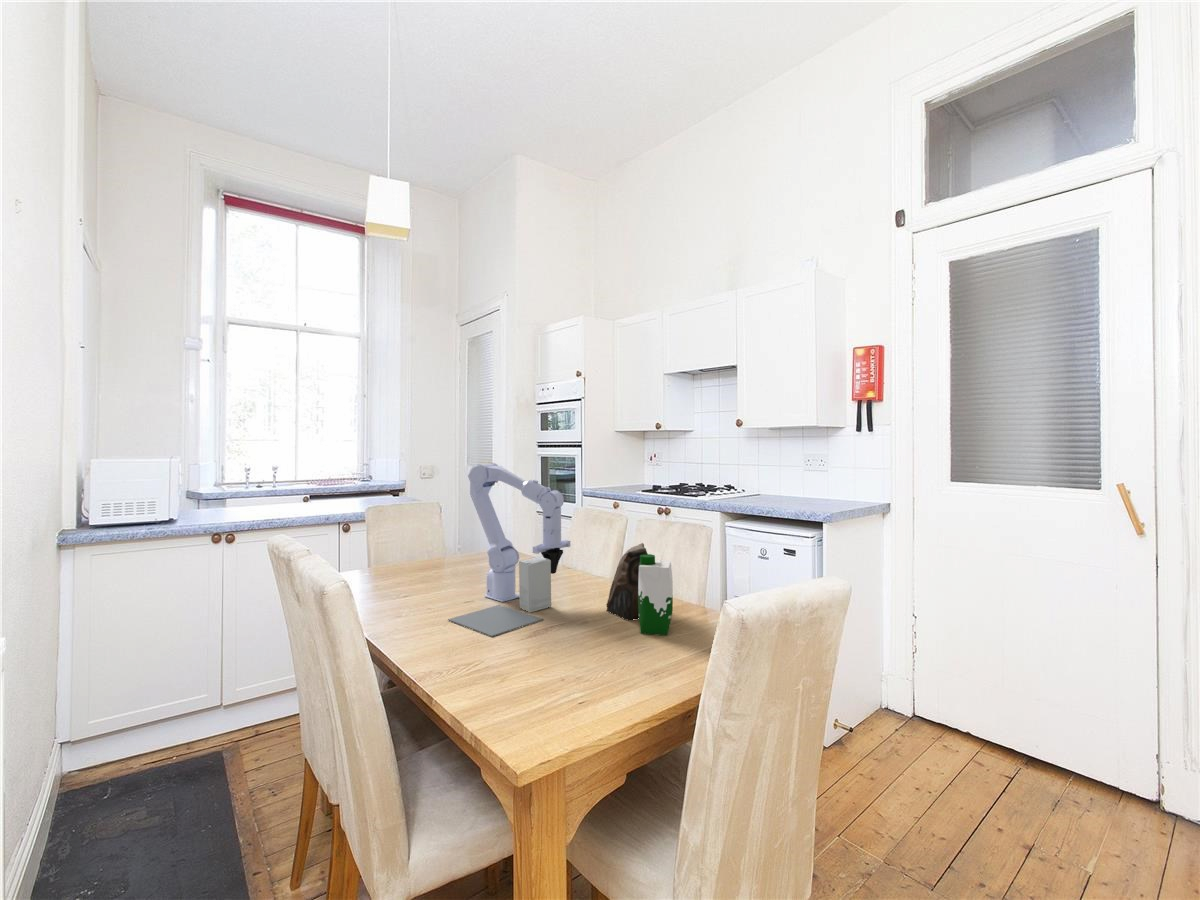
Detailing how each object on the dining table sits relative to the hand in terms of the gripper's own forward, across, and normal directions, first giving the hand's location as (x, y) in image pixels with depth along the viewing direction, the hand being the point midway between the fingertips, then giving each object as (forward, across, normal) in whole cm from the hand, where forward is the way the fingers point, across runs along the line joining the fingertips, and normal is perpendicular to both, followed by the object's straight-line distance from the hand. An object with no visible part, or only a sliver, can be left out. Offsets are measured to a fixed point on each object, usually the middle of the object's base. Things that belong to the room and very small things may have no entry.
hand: (552, 573), depth 173 cm
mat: (+9, -22, 0) cm, 24 cm away
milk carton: (+10, +1, -39) cm, 40 cm away
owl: (+10, +8, -24) cm, 27 cm away
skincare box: (+10, -7, 0) cm, 12 cm away
